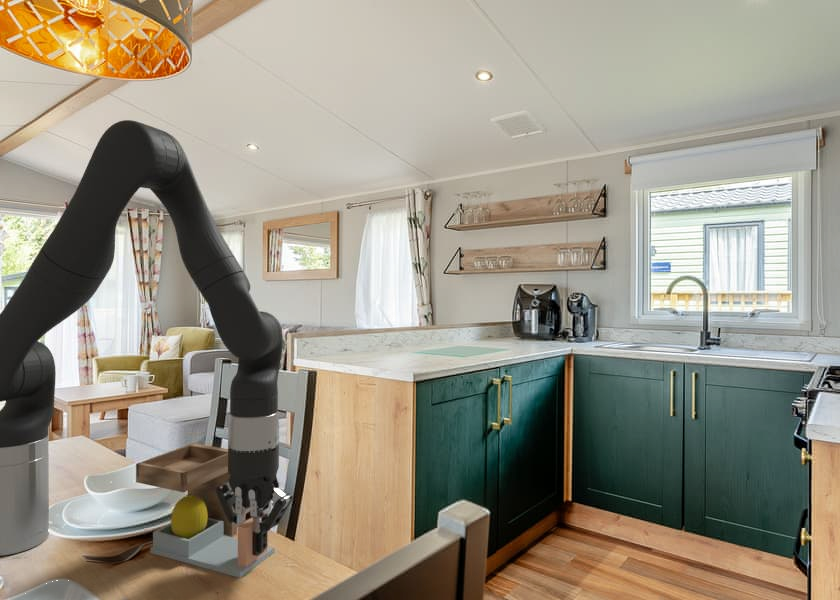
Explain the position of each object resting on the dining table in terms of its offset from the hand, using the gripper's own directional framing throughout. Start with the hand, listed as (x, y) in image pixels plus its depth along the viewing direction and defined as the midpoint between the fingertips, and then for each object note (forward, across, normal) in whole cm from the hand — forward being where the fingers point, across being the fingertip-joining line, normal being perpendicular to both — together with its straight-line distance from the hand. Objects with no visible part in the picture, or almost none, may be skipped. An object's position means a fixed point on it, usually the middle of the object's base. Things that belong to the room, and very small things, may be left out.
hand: (253, 551), depth 81 cm
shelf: (+2, -14, 0) cm, 14 cm away
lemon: (+1, -13, 0) cm, 13 cm away
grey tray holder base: (+2, -8, 0) cm, 8 cm away
